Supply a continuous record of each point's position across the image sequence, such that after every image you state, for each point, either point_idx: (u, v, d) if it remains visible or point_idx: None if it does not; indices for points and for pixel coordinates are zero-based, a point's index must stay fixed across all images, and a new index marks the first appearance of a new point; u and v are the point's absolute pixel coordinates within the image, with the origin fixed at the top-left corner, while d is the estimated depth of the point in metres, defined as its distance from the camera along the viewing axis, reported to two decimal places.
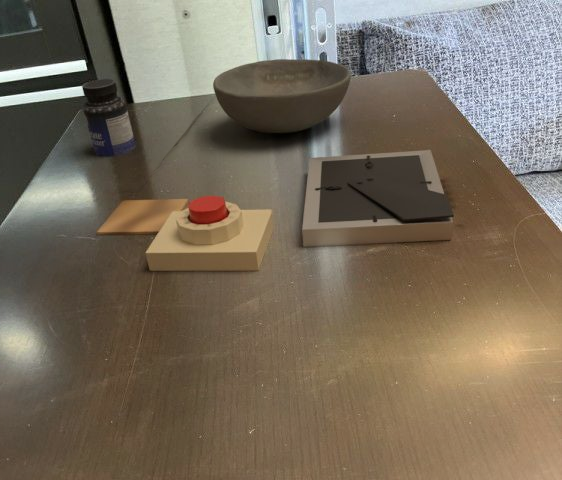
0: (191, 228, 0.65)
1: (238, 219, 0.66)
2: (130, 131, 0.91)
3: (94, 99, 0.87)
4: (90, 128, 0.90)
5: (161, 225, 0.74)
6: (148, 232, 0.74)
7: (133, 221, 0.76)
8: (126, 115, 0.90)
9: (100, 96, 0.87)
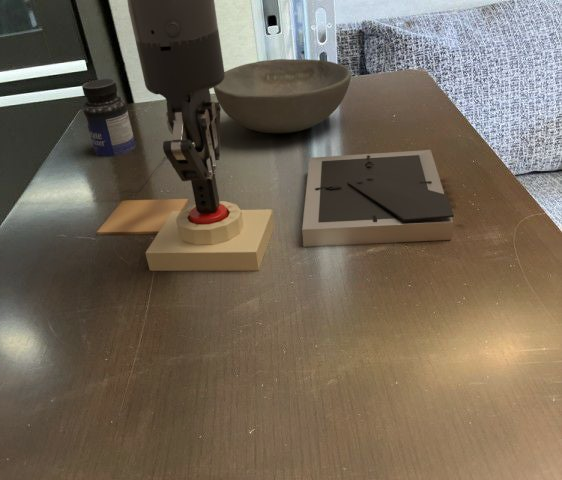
0: (191, 228, 0.65)
1: (238, 219, 0.66)
2: (130, 131, 0.91)
3: (94, 99, 0.87)
4: (90, 128, 0.90)
5: (161, 225, 0.74)
6: (148, 232, 0.74)
7: (133, 221, 0.76)
8: (126, 115, 0.90)
9: (100, 96, 0.87)
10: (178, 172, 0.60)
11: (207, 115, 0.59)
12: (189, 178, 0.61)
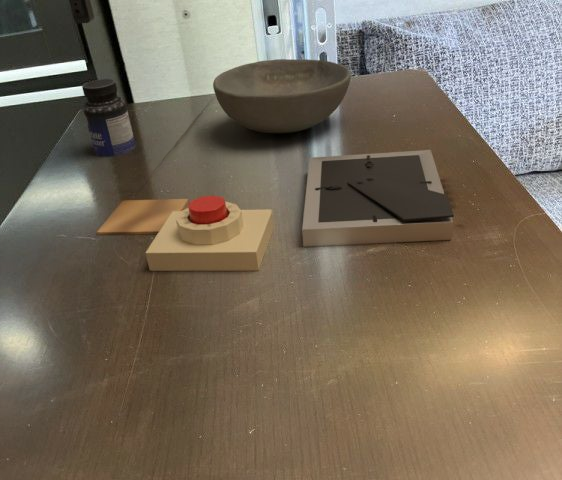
0: (191, 228, 0.65)
1: (238, 219, 0.66)
2: (130, 131, 0.91)
3: (94, 99, 0.87)
4: (90, 128, 0.90)
5: (161, 225, 0.74)
6: (148, 232, 0.74)
7: (133, 221, 0.76)
8: (126, 115, 0.90)
9: (100, 96, 0.87)
10: None
11: None
12: None
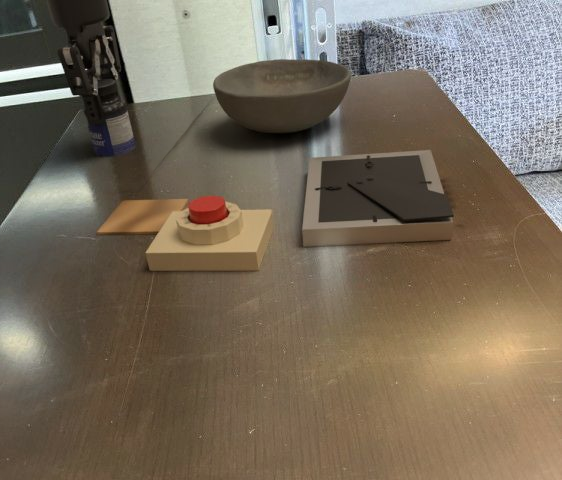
0: (191, 228, 0.65)
1: (238, 219, 0.66)
2: (130, 131, 0.91)
3: None
4: (90, 128, 0.90)
5: (161, 225, 0.74)
6: (148, 232, 0.74)
7: (133, 221, 0.76)
8: (126, 115, 0.90)
9: (100, 96, 0.87)
10: (68, 81, 0.82)
11: (98, 44, 0.83)
12: (77, 93, 0.83)
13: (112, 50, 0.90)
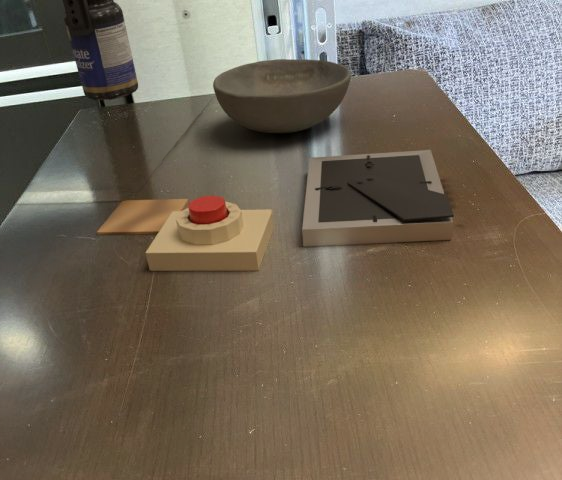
0: (191, 228, 0.65)
1: (238, 219, 0.66)
2: (128, 50, 0.67)
3: None
4: (73, 44, 0.65)
5: (161, 225, 0.74)
6: (148, 232, 0.74)
7: (133, 221, 0.76)
8: (123, 26, 0.66)
9: None
10: None
11: None
12: None
13: None
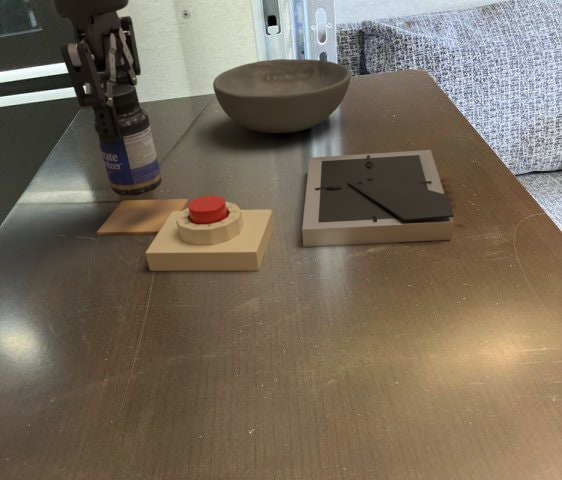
0: (191, 228, 0.65)
1: (238, 219, 0.66)
2: (153, 151, 0.72)
3: None
4: (103, 147, 0.70)
5: (161, 225, 0.74)
6: (148, 232, 0.74)
7: (133, 221, 0.76)
8: (148, 131, 0.70)
9: (117, 107, 0.67)
10: (75, 88, 0.62)
11: (113, 39, 0.64)
12: (87, 103, 0.63)
13: (130, 48, 0.70)
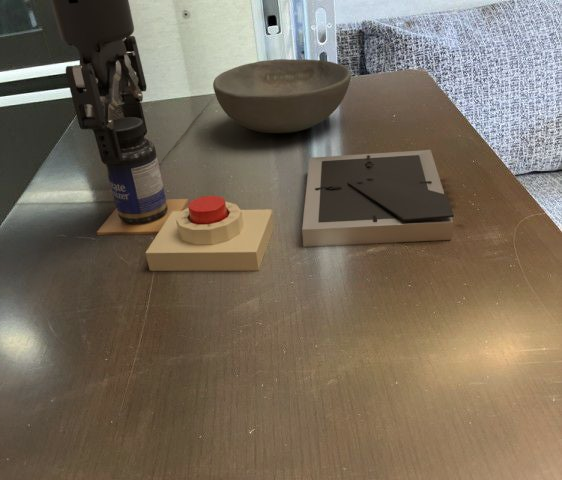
0: (191, 228, 0.65)
1: (238, 219, 0.66)
2: (160, 181, 0.74)
3: None
4: (111, 178, 0.72)
5: (161, 225, 0.74)
6: (148, 232, 0.74)
7: None
8: (155, 162, 0.73)
9: (125, 141, 0.69)
10: (76, 109, 0.63)
11: (119, 66, 0.65)
12: (87, 126, 0.64)
13: (135, 67, 0.72)
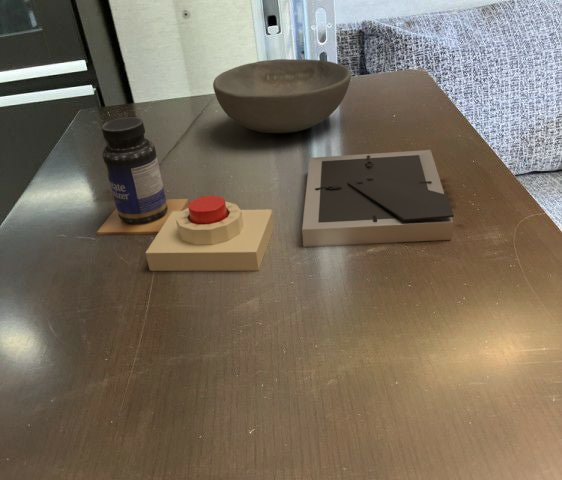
0: (191, 228, 0.65)
1: (238, 219, 0.66)
2: (160, 181, 0.74)
3: (116, 143, 0.70)
4: (111, 178, 0.72)
5: (161, 225, 0.74)
6: (148, 232, 0.74)
7: None
8: (155, 162, 0.73)
9: (125, 141, 0.69)
10: None
11: None
12: None
13: None
